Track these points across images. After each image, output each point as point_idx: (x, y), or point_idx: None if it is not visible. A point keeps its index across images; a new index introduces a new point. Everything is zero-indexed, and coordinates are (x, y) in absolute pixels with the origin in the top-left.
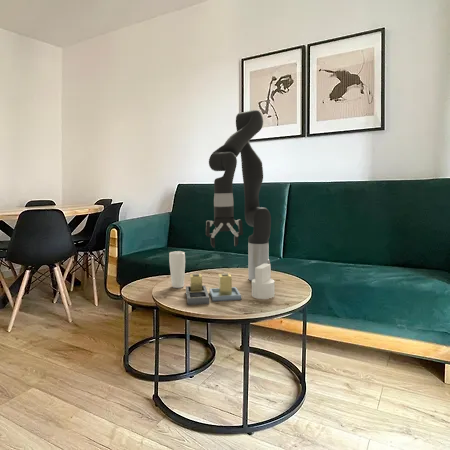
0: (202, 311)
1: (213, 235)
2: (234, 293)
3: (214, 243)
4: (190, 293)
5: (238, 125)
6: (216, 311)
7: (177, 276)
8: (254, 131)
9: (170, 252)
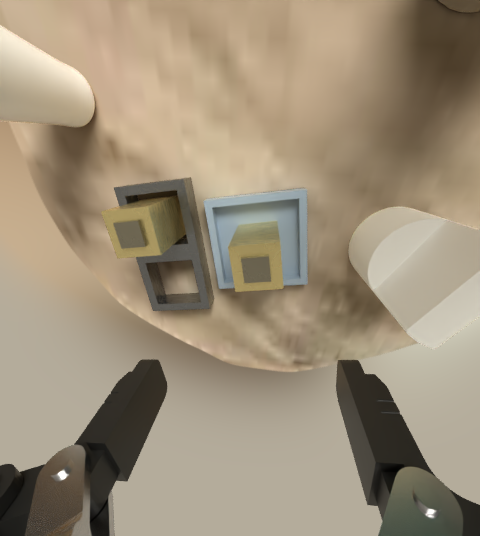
0: (201, 341)
1: (95, 525)
2: (292, 229)
3: (150, 422)
4: (149, 262)
5: None
6: (232, 345)
7: (40, 123)
8: None
9: None
